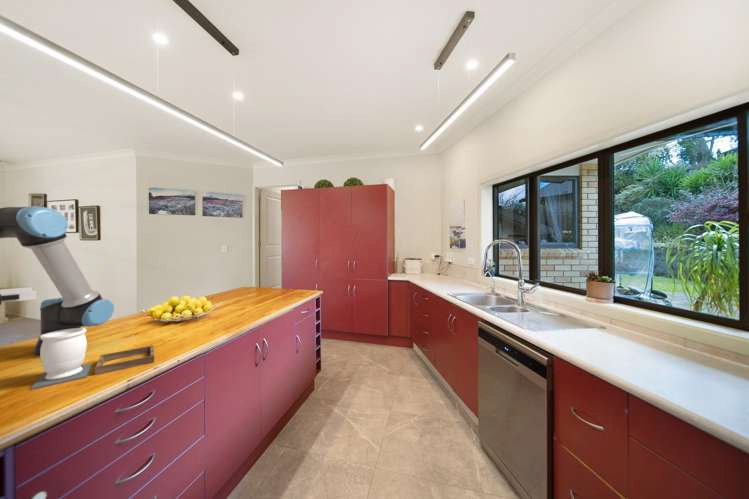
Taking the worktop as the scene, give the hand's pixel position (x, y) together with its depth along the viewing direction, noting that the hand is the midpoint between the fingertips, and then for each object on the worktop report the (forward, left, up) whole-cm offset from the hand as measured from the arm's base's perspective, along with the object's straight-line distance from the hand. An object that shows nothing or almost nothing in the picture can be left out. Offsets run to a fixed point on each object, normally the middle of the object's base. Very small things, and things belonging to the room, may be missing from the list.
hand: (34, 292), depth 88 cm
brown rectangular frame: (0, +23, -30) cm, 38 cm away
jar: (+1, +7, -30) cm, 30 cm away
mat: (+1, +7, -30) cm, 31 cm away
